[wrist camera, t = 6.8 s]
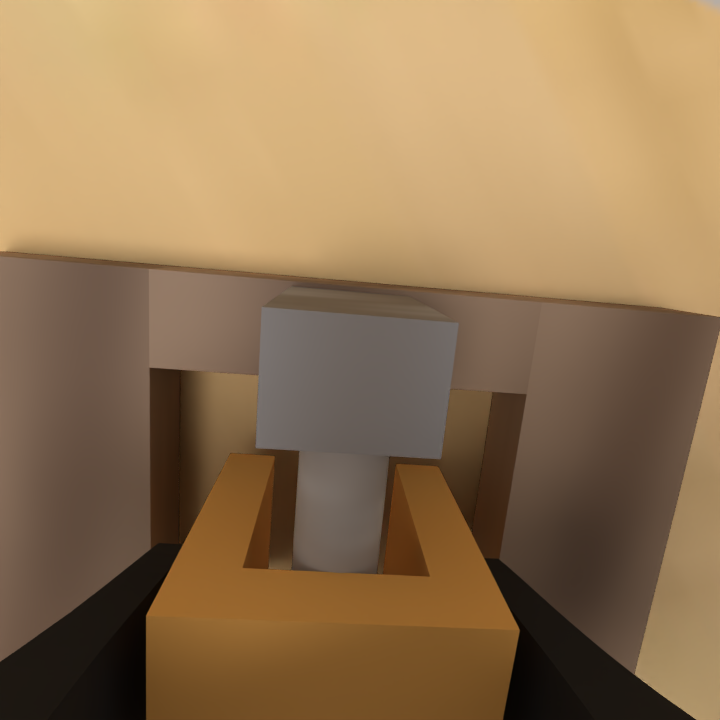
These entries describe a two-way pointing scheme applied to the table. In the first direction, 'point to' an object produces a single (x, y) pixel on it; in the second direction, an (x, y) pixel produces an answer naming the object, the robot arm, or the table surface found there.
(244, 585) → the orange slotted block
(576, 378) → the slotted shelf
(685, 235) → the table surface
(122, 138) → the table surface
